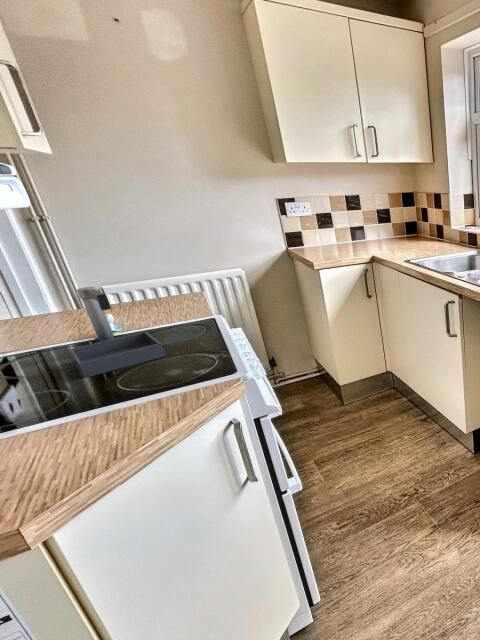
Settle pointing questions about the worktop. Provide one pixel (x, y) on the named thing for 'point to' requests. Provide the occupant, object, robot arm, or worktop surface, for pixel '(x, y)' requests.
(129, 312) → the worktop surface
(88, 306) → the faucet column
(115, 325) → the pacifier
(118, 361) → the sink
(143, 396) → the worktop surface
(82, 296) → the spout
